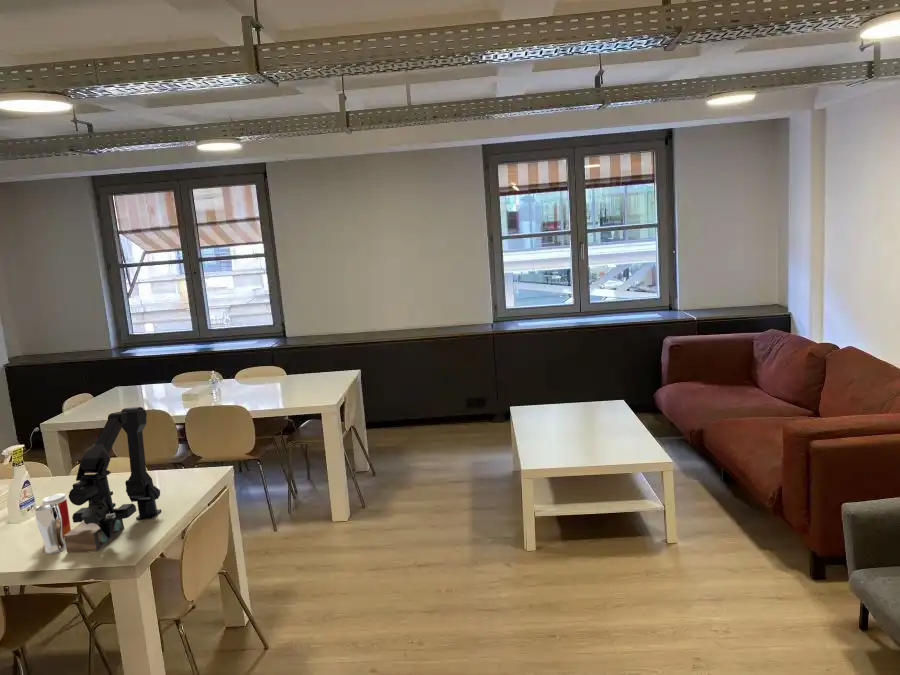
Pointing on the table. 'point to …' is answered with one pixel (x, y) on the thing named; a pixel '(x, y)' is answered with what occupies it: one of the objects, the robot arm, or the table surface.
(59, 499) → the red canister
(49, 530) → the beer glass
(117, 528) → the dowel
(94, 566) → the table surface
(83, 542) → the socket block
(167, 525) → the table surface
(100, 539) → the dowel
